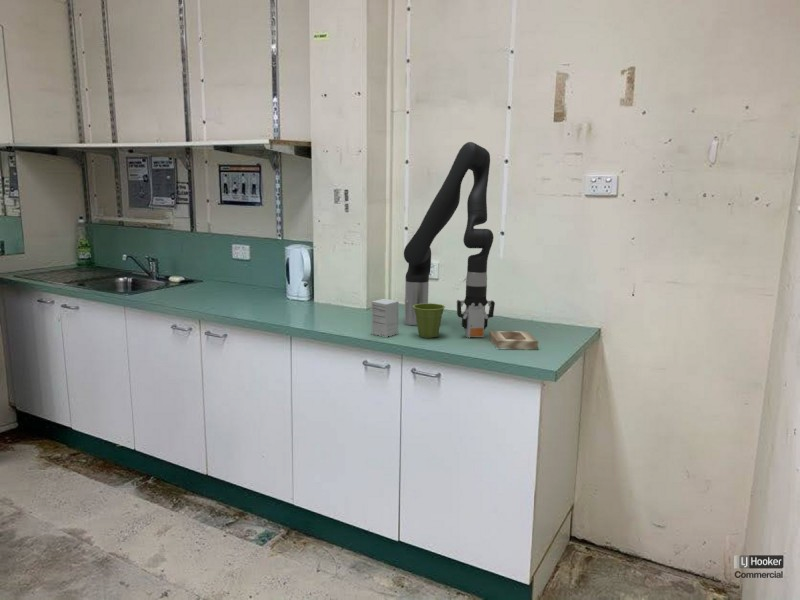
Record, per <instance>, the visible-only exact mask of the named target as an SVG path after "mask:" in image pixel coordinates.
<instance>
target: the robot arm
mask: <svg viewBox="0 0 800 600" xmlns="http://www.w3.org/2000/svg"><path fill="white" fill-rule="evenodd" d="M490 165H491V155H490V152H489V150H487V149H486V148H484V147H483V146H481V145H479V144H477V143H476V142H472V141H468V142H466V143H464V144H463V145H461V148H460V149H459V150H458V152H457V154H456V156H455V159H454V161H453V163H452V165H451V168H450V169H449V172H448V174H447V175H446V177H445V180H444V181H443V184H441V185H442V186H441V187H440V189H439V190H438V192H437V194H436V195H435V197H434V199H433V200H432V202H431V204H430V206H429V208H428V210H427V212H426V214H425V215H424V217H423V219H422V220H421V223H420V225H419V227H418V228H417V230H416V232H415V233H414V235H413V236H412V237H411V238H410V239H409V242H408V243H407V244H406V245H405V248H404V251H403V258H404V261H406V263H407V264H408V266H407V267H408V268H407V271H406V274H405V285H404V286H405V287H404V288H405V290H404V292H405V294H404V312H403V313H404V314H403V315H404V316H403V318H404V319H403V320H404V325H409V326H417V319H416V314H415V310H414V308H413V305H416V304H424V303H429V286H430V285H429V282H430V280H429V279H430V278H429V277H430V275H431V267H432V266H431V265H432V249H431V245H432V243H433V241H434V240H435V238H436V237H437V235H438V234H439V233H440V232H441V231H442V230H443V229H444V227H445V226H446V225H447V224H448V223H449V221H450V220H451V218H452V217H453V216H454V214H455V212H456V211H457V209H458V207H459V204H460V199H461V188H462V183H463V180H464V178H465V177H466V174H467V172H468V171H469V170H470V171H472V175H473V186H472V188H471V190H470V192H469V194H468V198H467V203H466V205H467V206H466V207H467V210H466V212H467V220H466V221H467V222H466V228H465V231H464V234H463V240H462V241H463V244H464V246H465V247H466V248H467V249H481V251H480V252H479V253H476V254H470V255H469V256H468V257H467V268H466V269H467V271H466V278H465V297H464V299H463V300H459V299H457V300H456V314H457V317H458V318H461V326H462V327H463V329H464V330H465V329H466V322H467V319H466V317H467V316H468V314H469V308H468V307H469V306H479V307H482V313H483V314H484V313H485V318H484V330H485V329H487V328H488V322H489V321H488V320H489V319H490V318H493V317H494V312H495V305H496V304H495V303H496V302H495V301H494V300H487V293H488V292H487V291H488V288H487V287H488V273H487V271H488V261H489V255H490V251H491V249H492V246H493V242H494V234H493V232H492V230H491V229H489V228H475V226H480V225H483V224H485V223H486V222H487V221H488V207H487V206H488V205H487V198H488V197H487V193H488V182H489V175H490V173H489V172H490ZM464 305H465V307H466V306H467V308H468V310H466V308H465V309H464V311H463V313H462V307H463V306H464ZM483 306H485V307H486V306H488V307H489V309H488V313H487V312H486V309H485V310H484V308H483Z"/></svg>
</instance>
